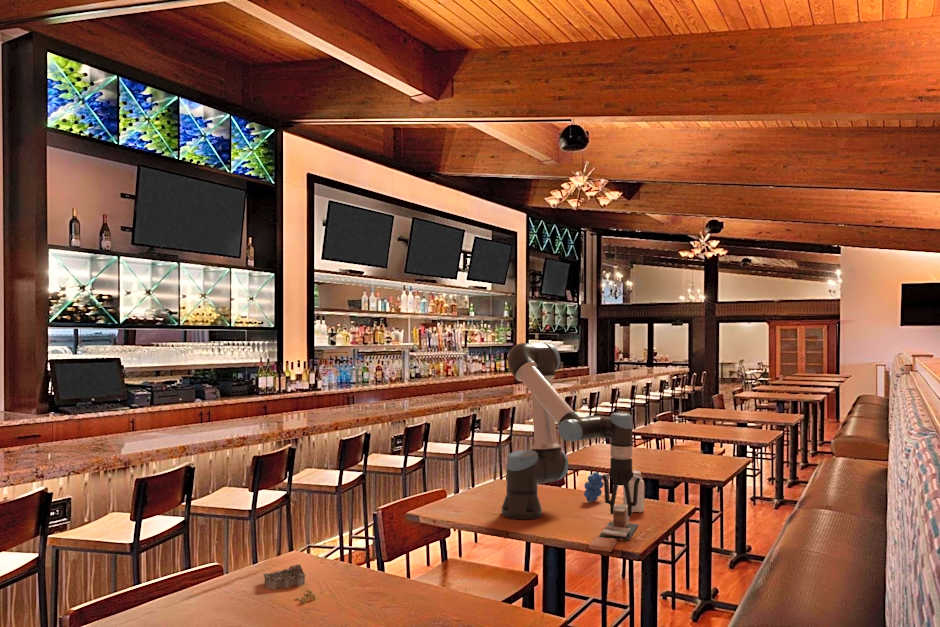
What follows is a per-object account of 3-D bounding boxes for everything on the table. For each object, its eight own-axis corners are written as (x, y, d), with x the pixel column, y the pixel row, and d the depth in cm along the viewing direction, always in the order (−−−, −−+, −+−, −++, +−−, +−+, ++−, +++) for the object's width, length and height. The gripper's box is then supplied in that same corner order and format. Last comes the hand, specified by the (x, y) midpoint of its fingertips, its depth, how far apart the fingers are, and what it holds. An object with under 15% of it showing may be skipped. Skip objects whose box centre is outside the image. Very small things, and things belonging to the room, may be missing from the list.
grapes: (593, 497, 311) (594, 468, 311) (607, 500, 306) (607, 471, 306) (576, 502, 303) (576, 472, 303) (589, 505, 298) (590, 475, 298)
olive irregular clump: (310, 596, 197) (310, 589, 197) (319, 602, 193) (319, 594, 193) (292, 600, 194) (292, 593, 194) (301, 606, 190) (302, 599, 190)
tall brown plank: (613, 519, 271) (613, 503, 271) (635, 522, 268) (635, 505, 268) (601, 534, 251) (601, 516, 251) (625, 536, 248) (625, 518, 248)
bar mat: (599, 537, 253) (599, 535, 253) (610, 523, 272) (610, 521, 272) (629, 541, 249) (629, 539, 249) (638, 526, 268) (638, 524, 268)
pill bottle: (642, 508, 294) (643, 470, 294) (645, 513, 286) (645, 474, 286) (622, 507, 295) (622, 469, 295) (624, 512, 287) (624, 473, 287)
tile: (595, 541, 249) (589, 550, 240) (595, 536, 249) (589, 544, 240) (616, 544, 247) (610, 552, 238) (616, 539, 247) (611, 547, 238)
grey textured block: (302, 578, 210) (302, 563, 210) (306, 587, 203) (306, 572, 203) (262, 582, 206) (263, 567, 206) (266, 591, 199) (266, 576, 199)
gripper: (595, 457, 262) (595, 524, 262) (643, 461, 256) (643, 529, 256) (600, 454, 269) (599, 519, 269) (646, 457, 263) (646, 524, 263)
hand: (621, 524), depth 263 cm, fingers closed on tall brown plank, 3 cm apart
